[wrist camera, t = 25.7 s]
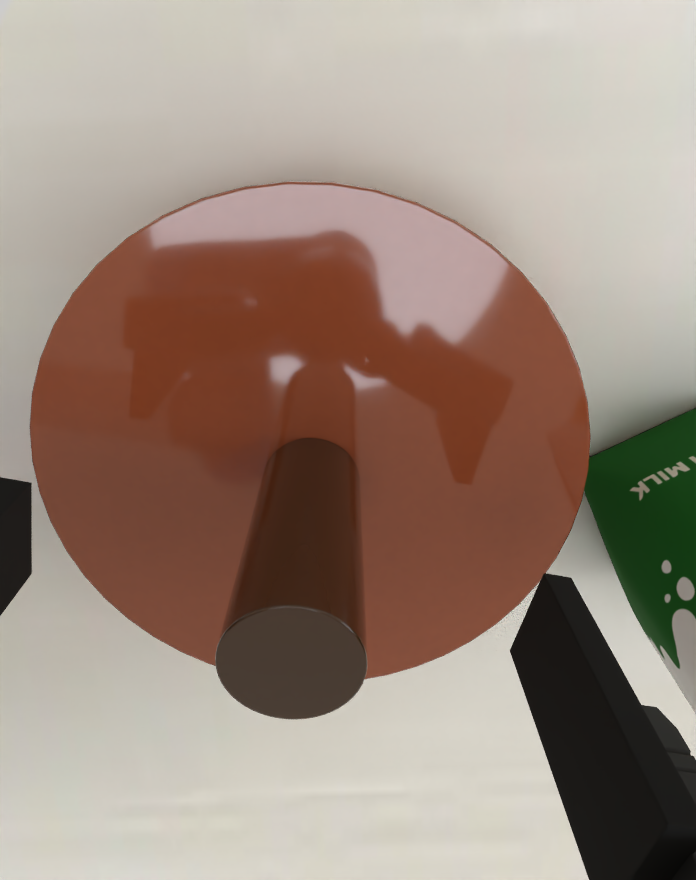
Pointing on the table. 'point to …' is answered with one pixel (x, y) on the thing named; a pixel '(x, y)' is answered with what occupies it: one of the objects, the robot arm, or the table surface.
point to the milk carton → (654, 535)
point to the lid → (309, 437)
